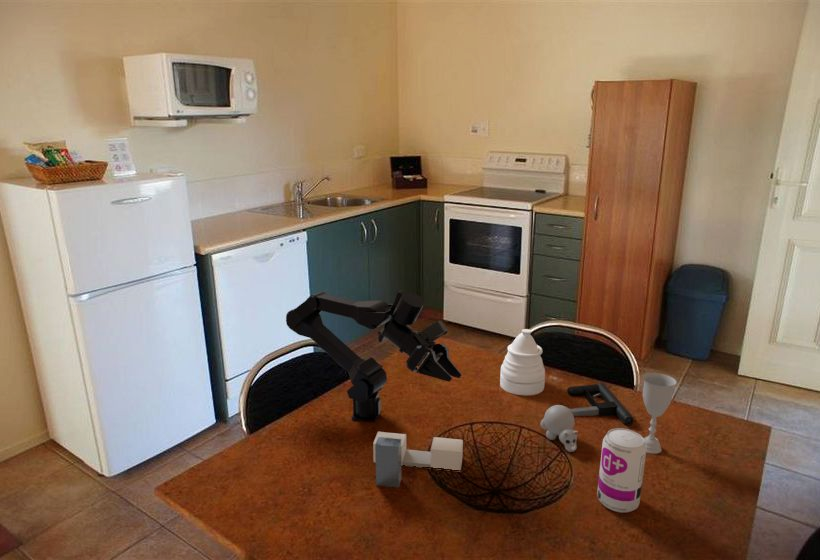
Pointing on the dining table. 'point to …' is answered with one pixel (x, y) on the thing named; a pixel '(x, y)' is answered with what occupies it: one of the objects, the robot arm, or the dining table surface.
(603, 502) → the supplement can
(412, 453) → the white block dumbbell
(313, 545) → the dining table surface
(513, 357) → the honey pot
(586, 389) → the toy submachine gun
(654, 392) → the chalice
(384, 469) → the grey brushed metal block
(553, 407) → the round bodied animal figurine
